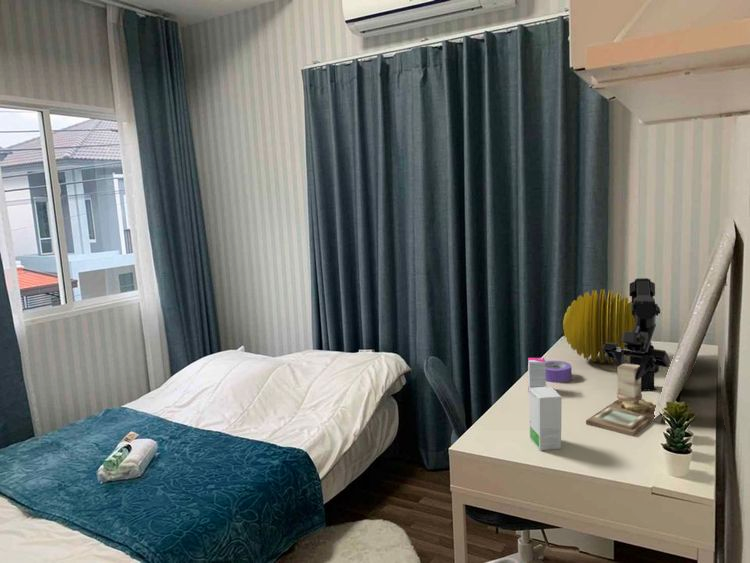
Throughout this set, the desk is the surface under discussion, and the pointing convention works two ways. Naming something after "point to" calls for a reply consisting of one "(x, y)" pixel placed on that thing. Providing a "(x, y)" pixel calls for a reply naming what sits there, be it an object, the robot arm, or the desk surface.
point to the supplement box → (536, 372)
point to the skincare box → (545, 418)
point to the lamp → (597, 323)
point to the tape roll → (558, 371)
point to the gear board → (624, 416)
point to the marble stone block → (628, 383)
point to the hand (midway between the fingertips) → (627, 377)
